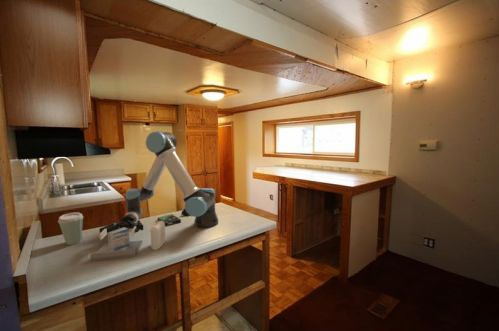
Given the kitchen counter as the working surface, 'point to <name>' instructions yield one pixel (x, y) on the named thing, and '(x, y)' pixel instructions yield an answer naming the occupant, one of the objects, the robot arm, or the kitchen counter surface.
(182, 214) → the gun
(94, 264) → the kitchen counter surface
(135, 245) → the dock
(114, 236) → the medicine box
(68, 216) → the disposable coffee cup
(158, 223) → the photo printer
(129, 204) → the robot arm
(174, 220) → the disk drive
